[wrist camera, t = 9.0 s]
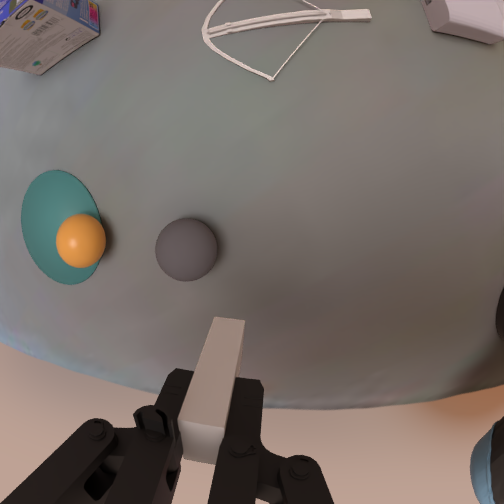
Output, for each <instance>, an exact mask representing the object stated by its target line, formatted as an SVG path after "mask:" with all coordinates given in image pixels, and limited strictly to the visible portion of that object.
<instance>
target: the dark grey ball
mask: <svg viewBox="0 0 504 504" xmlns="http://www.w3.org/2000/svg"><path fill="white" fill-rule="evenodd" d="M155 252H156V258H157V261H158V264H159V265H160V267H161V269H162V270H163V271H164V272H165V273H166V274H167V275H168V276H170V277H172V278H173V279H176V280H179V281H194V280H197V279H199V278H201V277H203V276H204V275H206V274H207V273H208V272H209V271H210V270H211V268H212V267H213V265H214V263H215V261H216V258H217V242H216V239H215V236H214V235H213V233H212V231H211V230H210V229H209V228H208V227H207V226H206V225H205V224H203V223H202V222H200V221H197V220H194V219H179V220H176V221H173V222H171V223H170V224H168V225H167V226H166V227H165V228H164V229H163V230H162V231H161V233H160V234H159V236H158V239H157V242H156V247H155Z"/></svg>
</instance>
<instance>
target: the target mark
mask: <svg viewBox="0 0 504 504" xmlns="http://www.w3.org/2000/svg"><path fill="white" fill-rule="evenodd" d="M75 214H87V215H90V216H92V217H94V218H95V219H97V220H98V221H99V222H100V224H101V219H100V215H99V212H98V209H97V206H96V204H95V202H94V200H93V198H92V196H91V194H90V193H89V191H88V190H87V188H86V187H85V186H84V185H83V184H82V182H80V181H79V180H78V179H77V178H76V177H74V176H73V175H71V174H69V173H67V172H64V171H60V170H53V171H48V172H45V173H43V174H41V175H39V176H38V177H37V178H36V179H35V180H34V181H33V182H32V183H31V184H30V186H29V188H28V190H27V192H26V194H25V197H24V200H23V204H22V211H21V224H22V232H23V236H24V240H25V243H26V246H27V249H28V251H29V253H30V255H31V257H32V259H33V260H34V262H35V263H36V265H37V266H38V267H39V268H40V269H41V270H42V271H43V272H44V273H45V274H46V275H47V276H48V277H50V278H51V279H53V280H55V281H57V282H59V283H62V284H68V285H72V284H78V283H81V282H83V281H84V280H86V279H87V278H89V277H90V276H91V275H92V274H93V272H94V271H95V269H96V267H97V265H98V264H99V261H100V259H99V260H98V261H97V262H96V263H94V264H93V265H91V266H89V267H86V268H76V267H73V266H70V265H68V264H67V263H66V262H65V261H64V260H63V259H62V258H61V257H60V255H59V253H58V250H57V246H56V236H57V232H58V229H59V227H60V226H61V224H62V223H63V222H64V221H65V220H66V219H67V218H68V217H70V216H72V215H75ZM101 225H102V224H101ZM100 258H101V257H100Z"/></svg>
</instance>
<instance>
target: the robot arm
mask: <svg viewBox="0 0 504 504" xmlns="http://www.w3.org/2000/svg"><path fill="white" fill-rule="evenodd" d="M496 325H497V331H498V333H499V335H500V337H501V338H502V339H503V340H504V290H503V293H502V295H501V298H500V302H499V305H498V310H497V317H496ZM244 327H245V320H238V319H230V318H222V317H214V320H213V322H212V325H211V328H210V330H209V333H208V336H207V339H206V341H205V344H204V347H203V350H202V352H201V355H200V358H199V361H198V363H197V366H196V369H195V372H194V371H189V370H183V369H178V368H176V369H175V370H174V371H172V372H171V373H170V374H169V375H168V376H167V379H166V381H165V383H164V385H163V387H162V389H161V393H160V394H159V396H158V398H157V401H156V403H155V405H148V406H143V407H141V408H139V409H137V410H136V411H135V413H134V414H133V416H134V419H135V423H136V426H137V427H134V428H113V426H112V425H111V424H110V423H109V422H108V421H106V420H104V419H98V418H94V419H90V420H88V421H86V422H85V423H83V424H82V425H81V426H80V427H79V428H78V429H77V430H76V431H75V432H74V433H73V434H72V435H71V436H70V437H69V438H68V439H67V440H66V441H65V442H64V443H63V444H62V445H61V446H60V447H59V448H58V449H57V450H55V451H54V453H52V454H51V455H50V456H49V457H48V458H47V459H46V460H45V461H44V462H43V463H42V464H41V465H40V466H39V467H38V468H37V469H36V470H35V471H34V472H33V473H32V474H31V475H29V476H28V477H27V478H26V480H24V481H23V482H22V483H21V484H20V485H19V486H18V487H17V488H16V489H15V490H14V491H13V492H12V493H11V494H10V495H9V496H7V498H6V499H4V500H3V501H2V502H1V503H0V504H171V503H172V499H173V496H174V492H175V489H176V485H177V482H178V478H179V475H180V471H181V465H180V461H181V458H182V455H183V457H184V459H187V460H192V461H197V462H203V463H208V464H214V465H216V466H215V471H214V475H213V480H212V485H211V490H210V494H209V499H208V504H255V500H256V498H258V499H260V500H263V501H266V502H269V504H334V502H333V500H332V497H331V494H330V492H329V489H328V487H327V484H326V481H325V479H324V476H323V474H322V471H321V468H320V466H319V465H318V464H317V462H316V461H315V460H314V459H312V458H311V457H308V456H304V455H294V456H291V457H288V458H285V457H282V456H279V455H276V454H273V453H271V452H270V451H268V450H267V449H266V448H265V447H264V446H263V445H262V442H261V438H260V433H261V420H262V407H263V395H264V388H263V386H262V384H261V382H260V380H256V379H247V378H239V373H240V367H241V360H242V349H243V338H244ZM470 475H471V481H472V485H473V489H474V492H475V495H476V497H477V499H478V501H479V503H480V504H504V417H502V419H501V420H500V421H497V422H495V423H494V425H493V426H492V428H491V429H490V430H489V431H488V432H487V433H486V434H485V435H484V436H483V437H482V438H481V439H480V440H479V441H478V443H477V444H476V445H475V447H474V449H473V452H472V455H471V463H470Z"/></svg>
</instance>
